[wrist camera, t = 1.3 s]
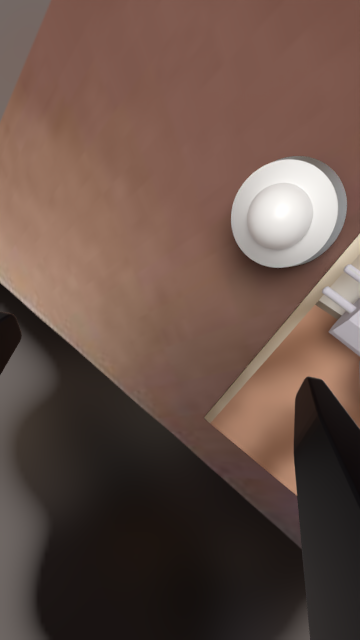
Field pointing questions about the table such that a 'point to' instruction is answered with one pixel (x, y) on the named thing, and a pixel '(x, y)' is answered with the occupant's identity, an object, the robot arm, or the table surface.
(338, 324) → the charger
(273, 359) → the game board
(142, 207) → the table surface
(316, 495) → the robot arm
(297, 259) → the dome
